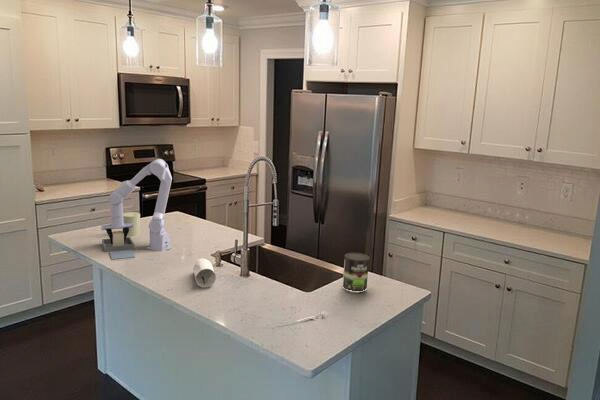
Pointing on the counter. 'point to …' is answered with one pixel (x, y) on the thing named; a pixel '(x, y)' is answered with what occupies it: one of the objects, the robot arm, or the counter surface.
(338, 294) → the counter surface
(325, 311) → the fork
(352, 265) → the coffee can
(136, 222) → the can
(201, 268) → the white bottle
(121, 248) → the gray square tray
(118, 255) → the mat
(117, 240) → the block
